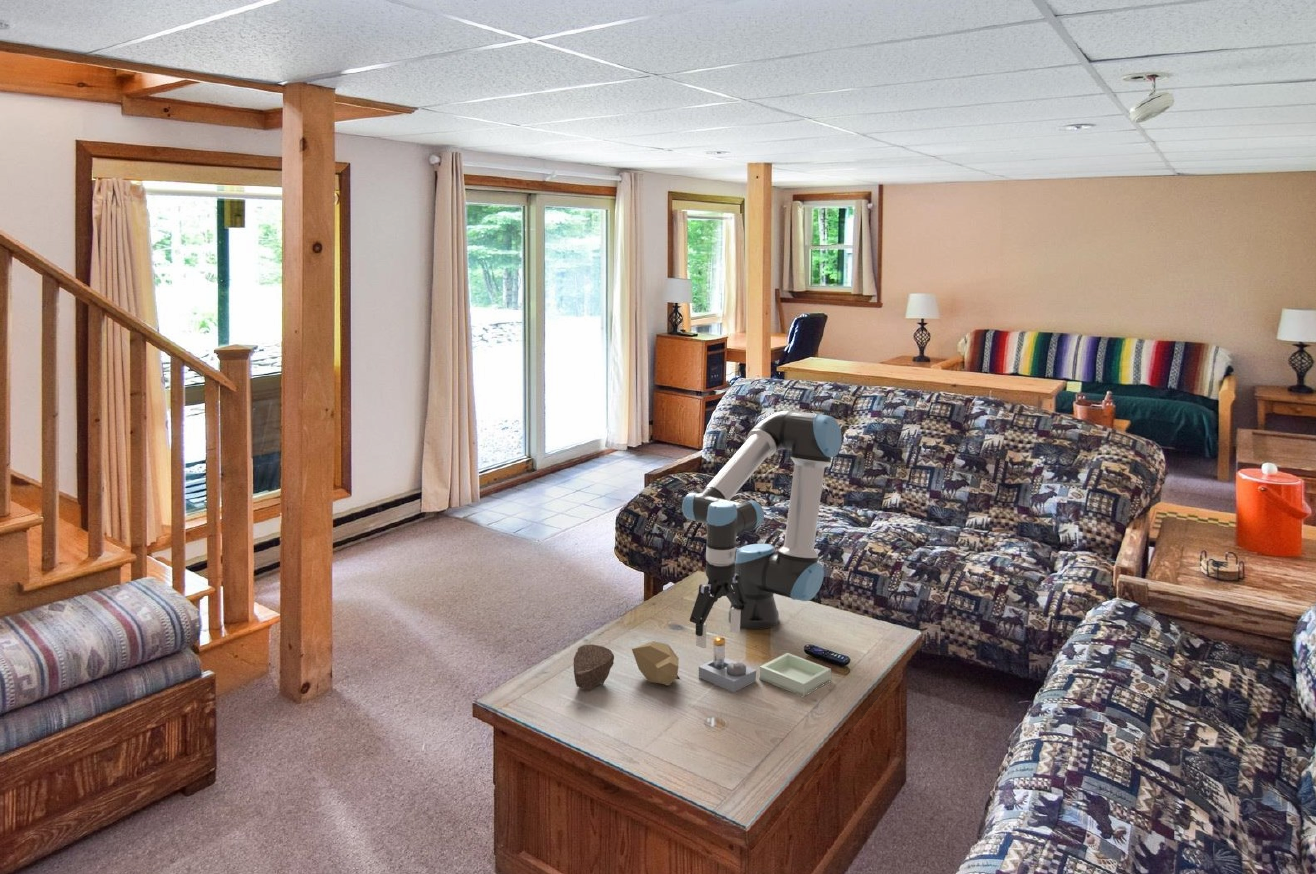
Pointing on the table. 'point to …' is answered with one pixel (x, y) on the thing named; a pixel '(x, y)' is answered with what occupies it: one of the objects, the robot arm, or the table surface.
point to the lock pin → (718, 652)
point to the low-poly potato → (657, 662)
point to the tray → (795, 674)
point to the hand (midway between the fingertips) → (718, 639)
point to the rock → (592, 666)
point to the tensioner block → (728, 675)
